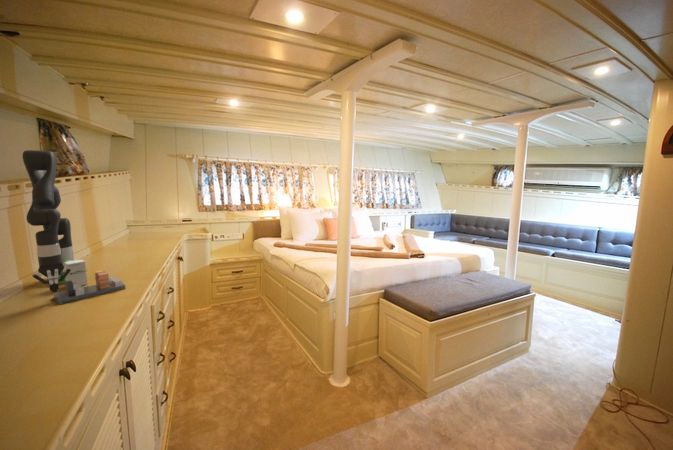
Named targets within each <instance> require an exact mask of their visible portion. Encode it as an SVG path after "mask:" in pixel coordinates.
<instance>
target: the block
mask: <svg viewBox="0 0 673 450" xmlns="http://www.w3.org/2000/svg"><path fill="white" fill-rule="evenodd" d="M94 276H95V285H97V286H98V287H99V288H100V289H103V288H107V287H110V286H109V277H110V276H109V273H108V272H107V271H106V270H104V269H101V270H98V271H94Z"/></svg>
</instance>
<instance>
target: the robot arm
mask: <svg viewBox="0 0 673 450" xmlns="http://www.w3.org/2000/svg"><path fill="white" fill-rule="evenodd" d="M22 160H23V164H24V166H25V169H26V171H27V174H28V176H29V179H30V183H31V186H32V190H31V196H32V198H31V205H30V206H29V207H30V208H29V209H28V211H27V212H26V213H27V214H26V222H27V223H28V224H29V225H31V226H33V227H38V226H39V227H40V226H42V228H43V230H40V231H37V232H36V233H35V242H36V255H37V261H38V269H37V272H35V273H32V277H33V279H35V280H37V281H39V282H40V283H42V284H43V285H48V286H49V287H48V288H49V291H50V292H52V293H58V291H59V289H60V287H59V283H61V282H60V281H63V280H64V279H65V277H66V276H67V275H68V274H69V272H70V271H71V270H70V269H69V268H65V267H64V263H63V262H64V261H65V260H70V261H74V260H75V255H74V249H73V241H72V227H71V222H70V221H71V220H69V218H67V217H61V213H60V211H59V210H58V207H59V206H60V205H61V202H62V201H61V194H60V191H59V189H58V188H57V187H56V185H55V182H56V176H57V167H58V164H57V161H58V160H57V158H56V154H55V153H54V152H53V151H50V150H38V149H37V150H32V149H29V150H27V149H26V150H24V151H23V152H22ZM39 171H41V172H42V171H46V172H45V173H44V175H42V174H41V173H40V172H39ZM59 236H62V237H61V238H59ZM61 272H64V273H63V274H62V275H61V276H60V278H58V275H59V274H60V273H61ZM41 276H44V277H46V278H47V280H46V279H45V278H43V277H41Z"/></svg>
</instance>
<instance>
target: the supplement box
mask: <svg viewBox="0 0 673 450" xmlns="http://www.w3.org/2000/svg"><path fill="white" fill-rule="evenodd" d="M63 263H64V267H65V268H69V269H70V270H71V271H70V272H69V274H68V275H67V276H66V277H65V279H66V281H71V282H73V284H77V283H78V284H79V285H80V286H81V287H82V286H86V285H87V286H88V277H87V271H86V270H87V267H86V261H85V260H84V259H74V261H67V262H63Z"/></svg>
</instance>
